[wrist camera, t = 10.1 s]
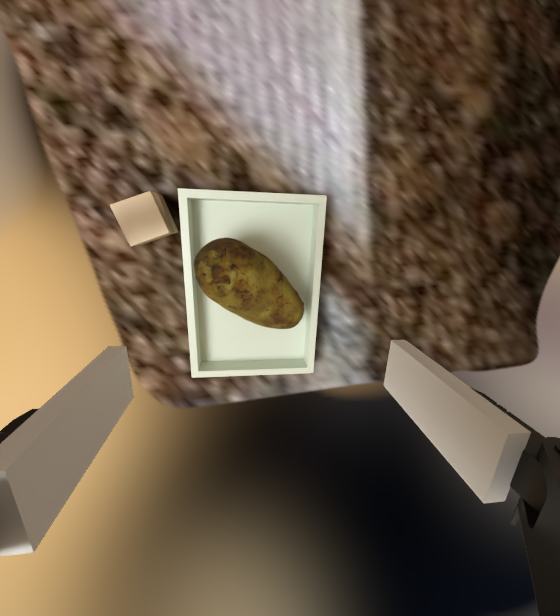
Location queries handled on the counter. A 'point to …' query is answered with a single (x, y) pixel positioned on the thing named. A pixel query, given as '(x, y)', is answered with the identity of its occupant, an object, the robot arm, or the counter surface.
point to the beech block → (144, 218)
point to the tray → (280, 250)
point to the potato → (247, 284)
